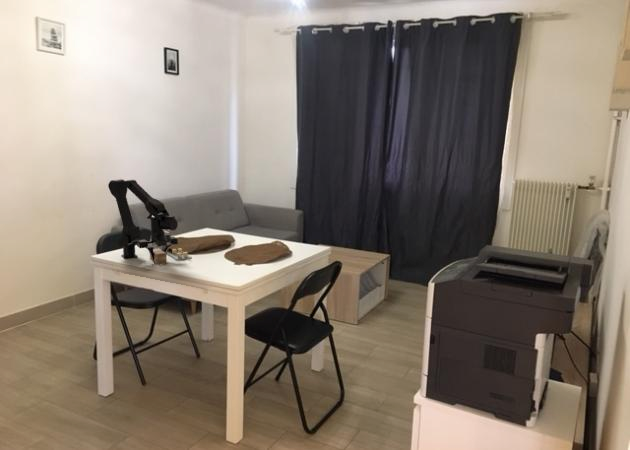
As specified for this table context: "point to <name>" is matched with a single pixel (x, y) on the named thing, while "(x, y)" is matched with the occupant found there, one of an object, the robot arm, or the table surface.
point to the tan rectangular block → (159, 256)
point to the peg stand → (179, 255)
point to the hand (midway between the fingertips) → (158, 259)
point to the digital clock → (161, 246)
